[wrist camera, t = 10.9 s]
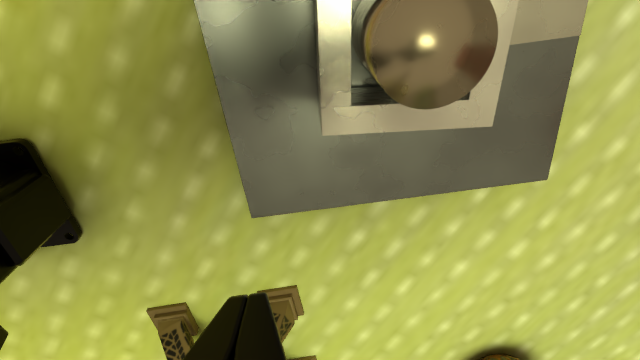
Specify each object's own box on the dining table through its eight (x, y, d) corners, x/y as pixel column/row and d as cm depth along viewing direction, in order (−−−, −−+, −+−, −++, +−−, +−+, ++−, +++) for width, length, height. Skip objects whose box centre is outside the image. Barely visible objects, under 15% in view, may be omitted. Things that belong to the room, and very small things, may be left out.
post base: (253, 210, 21) (237, 285, 16) (142, -217, 12) (21, -372, 7) (538, 173, 21) (620, 237, 15) (635, -293, 12) (900, -513, 7)
